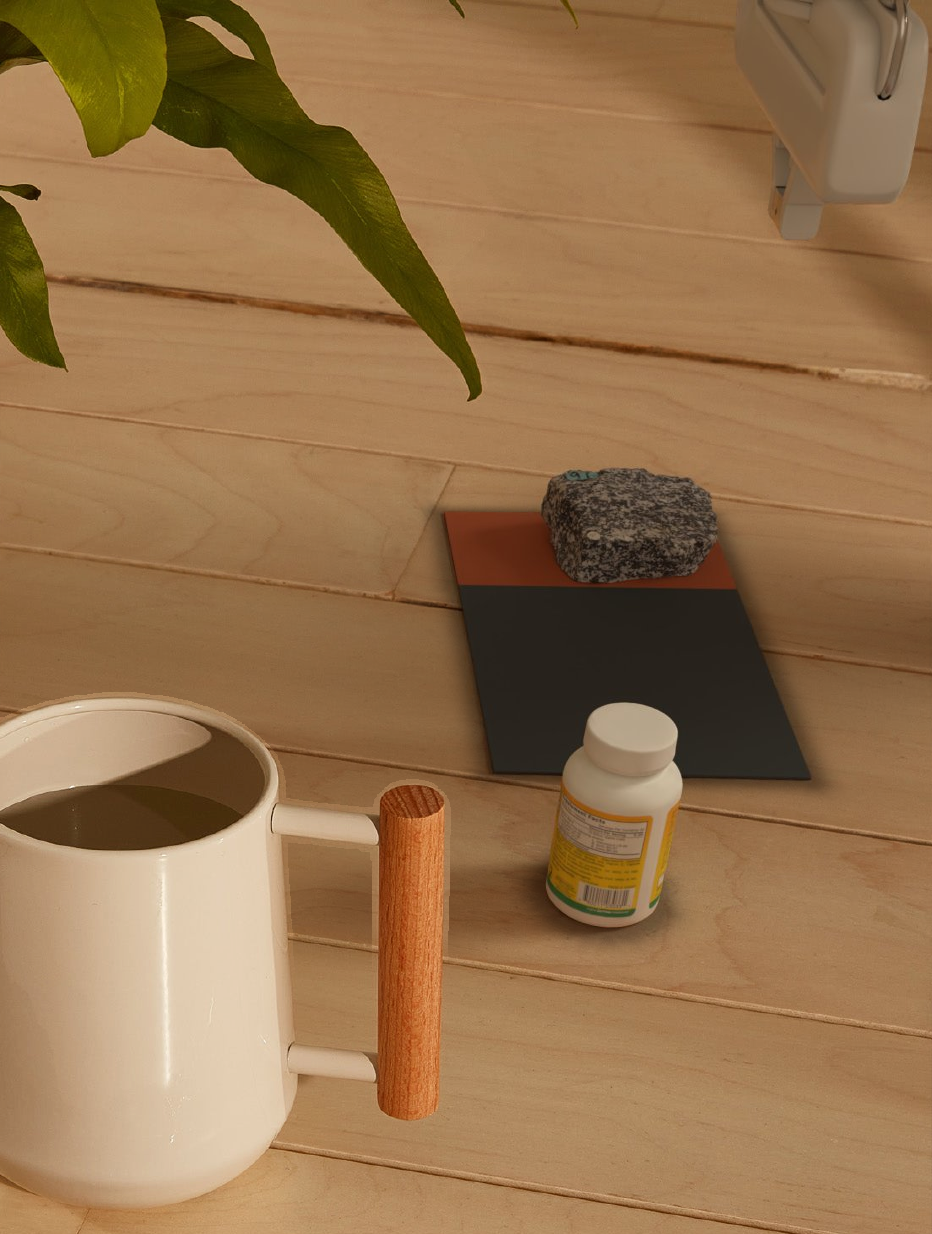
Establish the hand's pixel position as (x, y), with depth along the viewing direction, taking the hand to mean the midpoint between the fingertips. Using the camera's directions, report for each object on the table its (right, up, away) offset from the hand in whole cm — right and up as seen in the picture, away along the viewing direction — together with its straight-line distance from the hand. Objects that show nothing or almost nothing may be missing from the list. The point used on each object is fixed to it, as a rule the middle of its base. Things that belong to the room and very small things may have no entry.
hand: (790, 229), depth 105 cm
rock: (-2, -12, +24) cm, 27 cm away
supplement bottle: (-10, -32, -2) cm, 34 cm away
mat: (-5, -18, +16) cm, 25 cm away
